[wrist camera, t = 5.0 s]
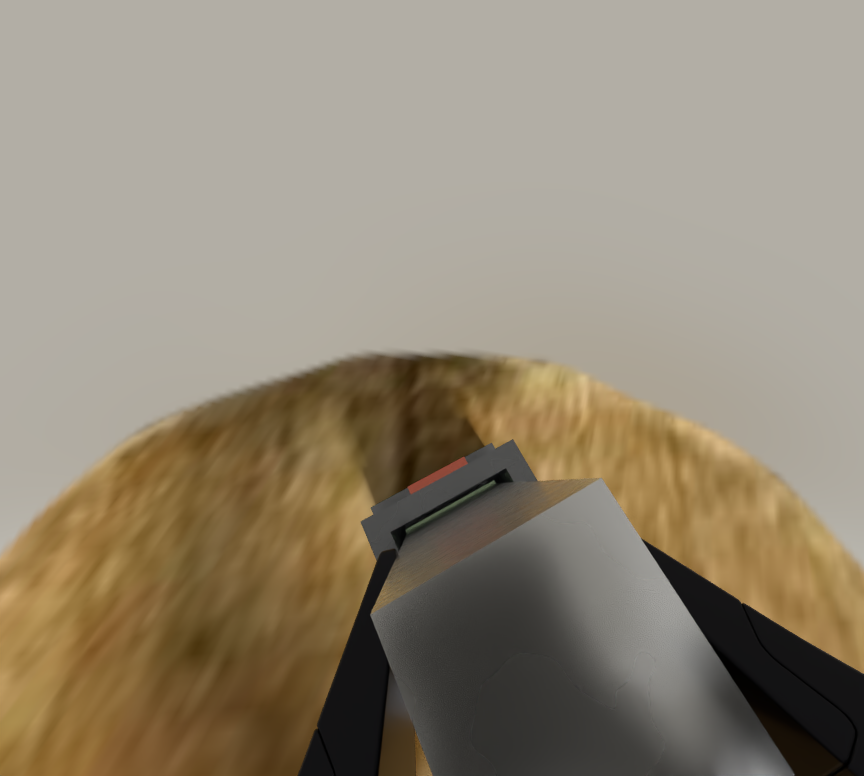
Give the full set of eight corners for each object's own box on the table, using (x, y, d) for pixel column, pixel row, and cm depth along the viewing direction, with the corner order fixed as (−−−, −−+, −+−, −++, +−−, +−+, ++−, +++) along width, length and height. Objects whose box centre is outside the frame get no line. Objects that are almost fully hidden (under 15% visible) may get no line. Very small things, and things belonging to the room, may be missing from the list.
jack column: (530, 565, 14) (807, 779, 4) (450, 614, 14) (521, 1028, 3) (484, 481, 15) (602, 469, 5) (408, 523, 15) (360, 611, 4)
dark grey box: (551, 565, 17) (631, 616, 10) (434, 638, 16) (439, 748, 9) (485, 447, 19) (516, 425, 12) (376, 505, 18) (345, 516, 11)
